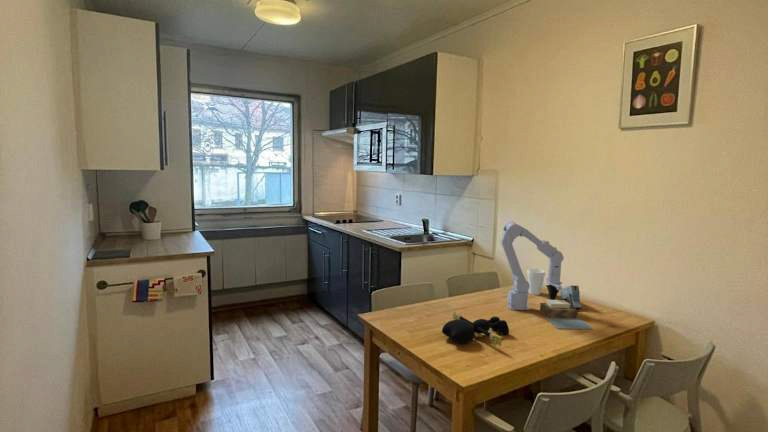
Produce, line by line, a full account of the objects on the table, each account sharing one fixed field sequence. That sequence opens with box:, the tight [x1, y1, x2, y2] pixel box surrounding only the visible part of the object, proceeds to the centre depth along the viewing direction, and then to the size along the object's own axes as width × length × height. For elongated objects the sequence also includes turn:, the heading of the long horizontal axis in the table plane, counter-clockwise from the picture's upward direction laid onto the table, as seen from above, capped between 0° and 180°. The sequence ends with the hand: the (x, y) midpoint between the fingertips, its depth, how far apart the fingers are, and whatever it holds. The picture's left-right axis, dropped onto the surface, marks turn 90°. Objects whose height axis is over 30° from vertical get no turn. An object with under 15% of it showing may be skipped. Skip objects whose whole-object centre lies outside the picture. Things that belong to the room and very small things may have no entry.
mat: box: [545, 317, 594, 330], centre depth 198 cm, size 16×13×1 cm
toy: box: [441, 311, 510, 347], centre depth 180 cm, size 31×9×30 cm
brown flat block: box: [539, 302, 579, 318], centre depth 210 cm, size 14×10×4 cm
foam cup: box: [526, 268, 546, 296], centre depth 243 cm, size 10×9×13 cm
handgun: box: [559, 284, 583, 310], centre depth 226 cm, size 4×18×12 cm, turn 179°
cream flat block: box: [545, 299, 571, 308], centre depth 210 cm, size 9×6×2 cm, turn 91°
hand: (552, 299), depth 217 cm, fingers closed
